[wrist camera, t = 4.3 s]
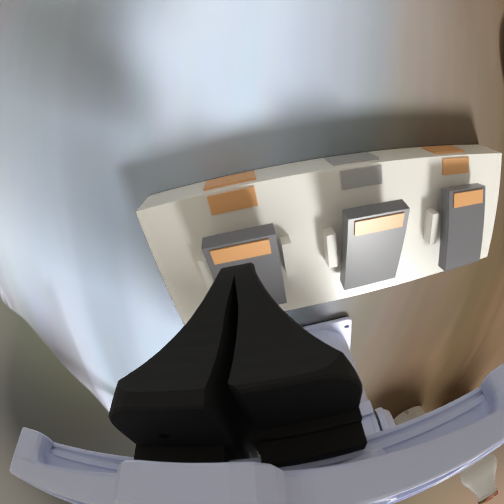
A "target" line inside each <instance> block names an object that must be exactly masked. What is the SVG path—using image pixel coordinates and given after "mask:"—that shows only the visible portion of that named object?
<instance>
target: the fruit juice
mask: <svg viewBox="0 0 504 504" xmlns="http://www.w3.org/2000/svg"><path fill="white" fill-rule="evenodd" d="M496 466H497V460H496V457H495V456H494V455H493V454H492V452H490V453H489V454H487V455H486V456H484V457H483V458H481V459H480V460H478V461H477V462H475V463H474V464H472V465H470V466H469V467H467V468H465V469H464V470H462V471H460V473H461V481H462V483H463V485H464V486H466V487H468V488H470V489H471V490H472V491H473V492H474V493H475V494H476V496H477V497H478V504H483V503H485V502H487V501H488V500H490V499H491V498H493V497H494V496H496V495H497V494H498V490H497V488H495V471H496Z"/></svg>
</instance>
